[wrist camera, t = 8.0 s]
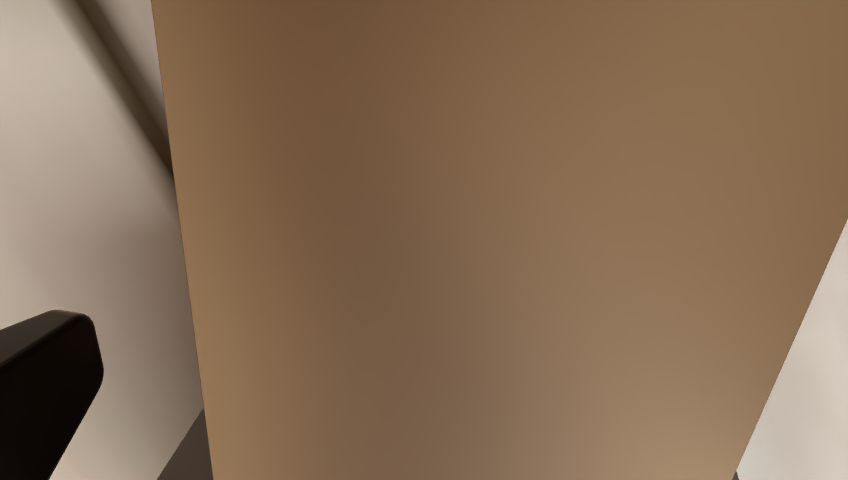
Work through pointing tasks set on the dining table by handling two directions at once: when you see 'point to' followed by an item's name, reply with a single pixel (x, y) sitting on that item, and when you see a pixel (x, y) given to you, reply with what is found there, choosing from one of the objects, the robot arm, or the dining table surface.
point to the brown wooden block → (500, 228)
